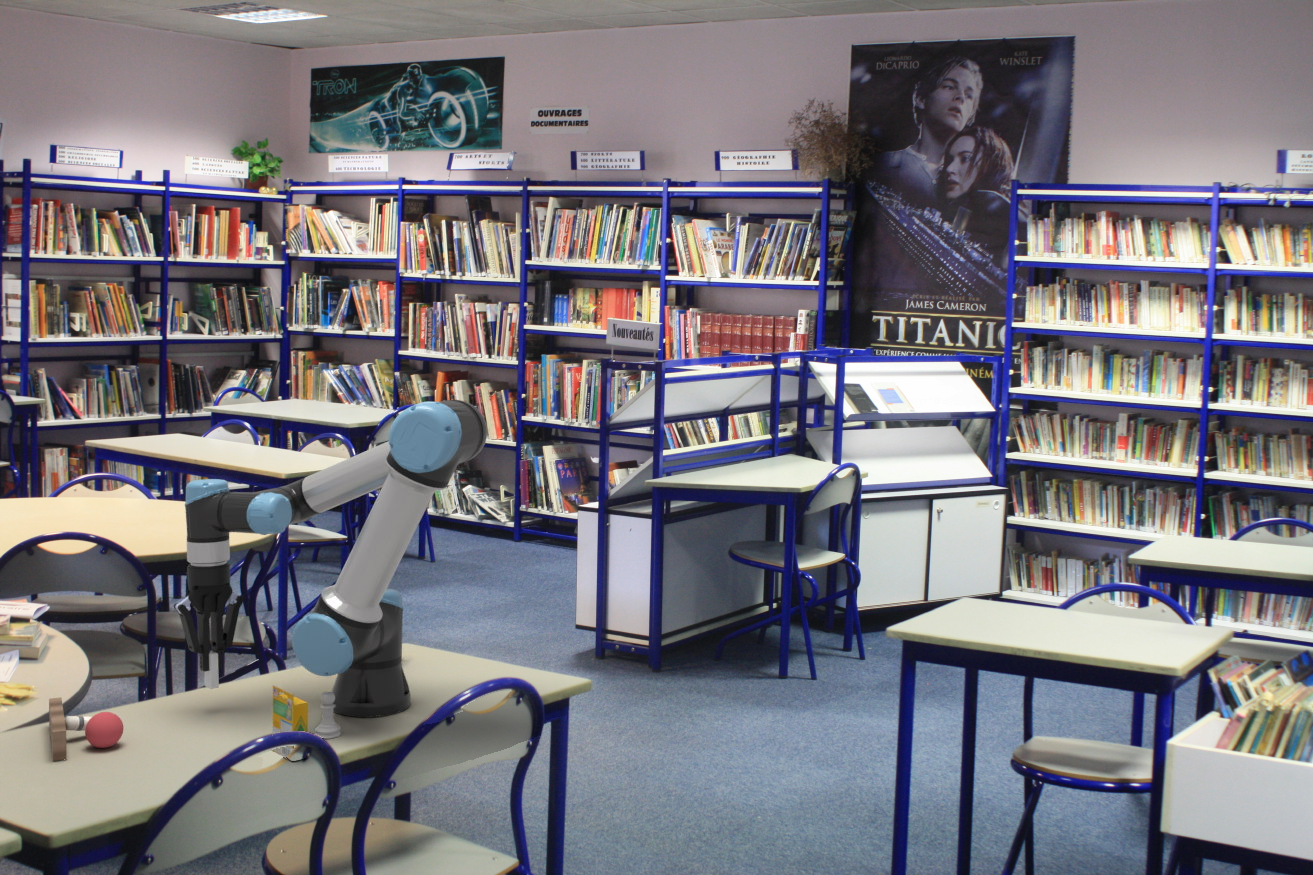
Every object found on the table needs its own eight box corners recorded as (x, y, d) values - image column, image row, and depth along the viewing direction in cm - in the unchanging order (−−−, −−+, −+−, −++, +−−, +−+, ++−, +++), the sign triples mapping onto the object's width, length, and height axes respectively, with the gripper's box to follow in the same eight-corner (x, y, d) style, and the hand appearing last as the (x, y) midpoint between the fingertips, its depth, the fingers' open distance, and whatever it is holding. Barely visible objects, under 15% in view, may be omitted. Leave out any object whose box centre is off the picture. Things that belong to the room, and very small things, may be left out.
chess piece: (346, 733, 220) (346, 689, 219) (331, 740, 216) (331, 696, 215) (324, 729, 222) (324, 686, 221) (308, 737, 217) (308, 693, 217)
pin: (122, 720, 217) (71, 718, 210) (118, 733, 217) (67, 732, 210) (116, 714, 219) (66, 713, 212) (112, 727, 219) (62, 727, 212)
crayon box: (308, 758, 207) (309, 691, 206) (292, 762, 204) (292, 694, 204) (287, 747, 212) (288, 681, 211) (271, 751, 210) (271, 684, 209)
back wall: (66, 759, 203) (66, 730, 202) (53, 761, 202) (52, 731, 201) (61, 724, 220) (61, 697, 220) (49, 725, 219) (49, 698, 219)
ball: (126, 708, 209) (113, 739, 205) (130, 725, 214) (118, 756, 209) (90, 702, 209) (76, 733, 205) (95, 720, 213) (82, 751, 209)
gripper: (232, 555, 235) (235, 676, 237) (165, 564, 226) (169, 689, 227) (251, 560, 230) (253, 683, 231) (183, 569, 220) (186, 697, 222)
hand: (211, 686), depth 229 cm, fingers closed
